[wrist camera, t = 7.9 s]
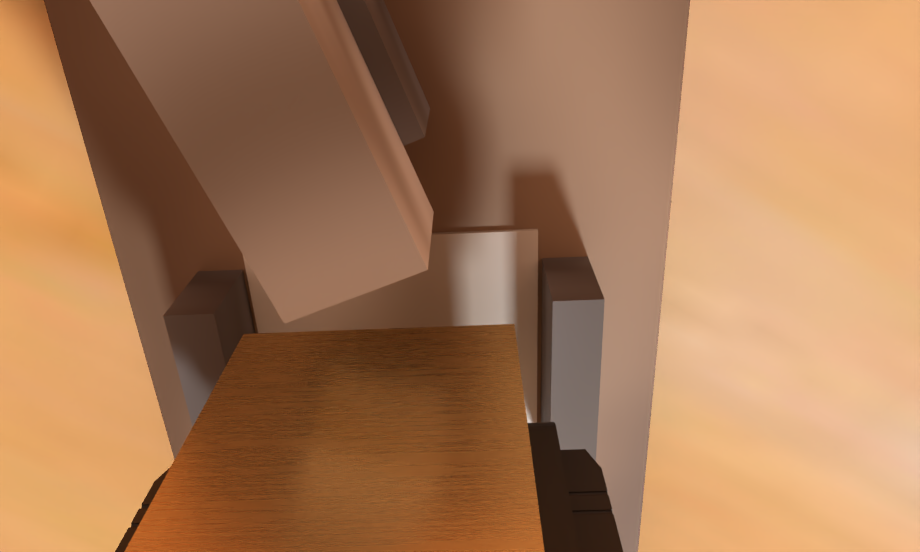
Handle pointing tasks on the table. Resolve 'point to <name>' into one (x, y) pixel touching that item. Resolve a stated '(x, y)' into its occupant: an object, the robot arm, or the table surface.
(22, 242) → the table surface
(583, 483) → the robot arm
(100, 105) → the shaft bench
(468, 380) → the tan knob block
